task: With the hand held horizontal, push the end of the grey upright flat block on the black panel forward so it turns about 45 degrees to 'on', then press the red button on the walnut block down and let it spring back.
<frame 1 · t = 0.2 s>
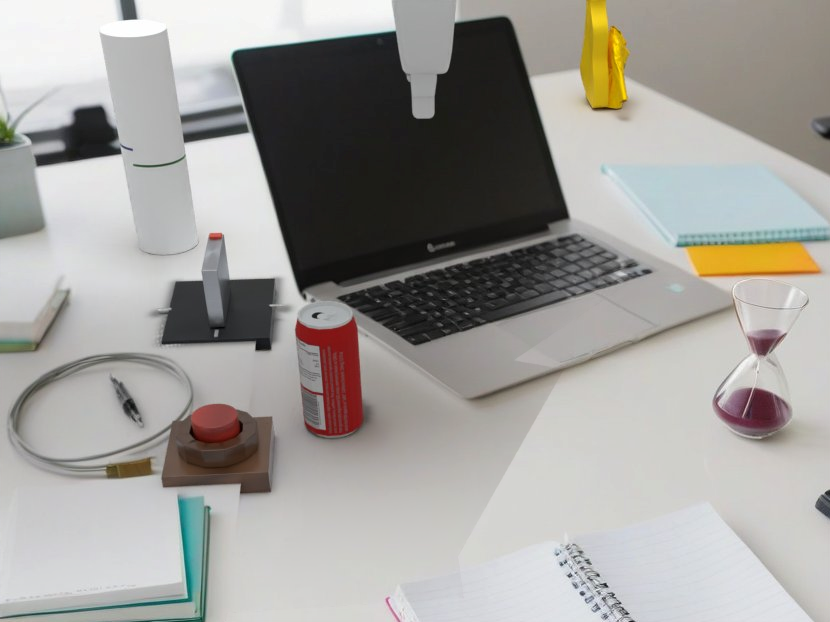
hand: (419, 97, 98), 29 cm above the table, tool pointing down, fingers open, 8 cm apart
cylindrical container: (168, 244, 141), on the table
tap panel: (222, 320, 126), on the table
start button: (215, 423, 101), point 4 cm above the table, slide at 0.1 cm
button block: (222, 465, 104), on the table
soda can: (334, 426, 110), on the table
figure statuette: (601, 105, 188), on the table
grey upright flat block: (216, 279, 123), point 5 cm above the table, hinge at 0.0°
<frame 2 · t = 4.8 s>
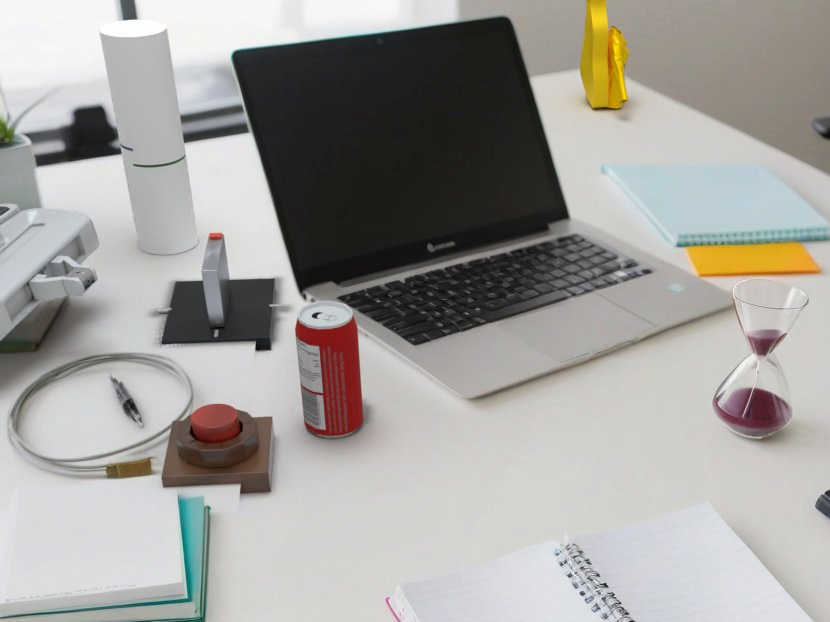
hand: (88, 281, 112), 9 cm above the table, tool horizontal, fingers closed
nothing on the table moved.
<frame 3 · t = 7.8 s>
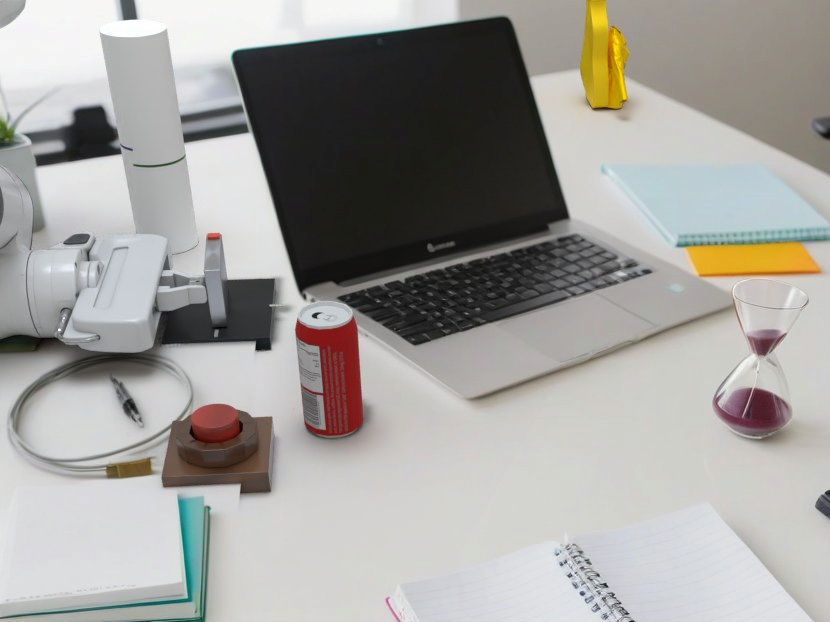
hand: (207, 288, 119), 6 cm above the table, tool horizontal, fingers closed, pressing on grey upright flat block
grey upright flat block: (216, 279, 123), point 5 cm above the table, hinge at 3.3°, touching gripper
everything else where it was.
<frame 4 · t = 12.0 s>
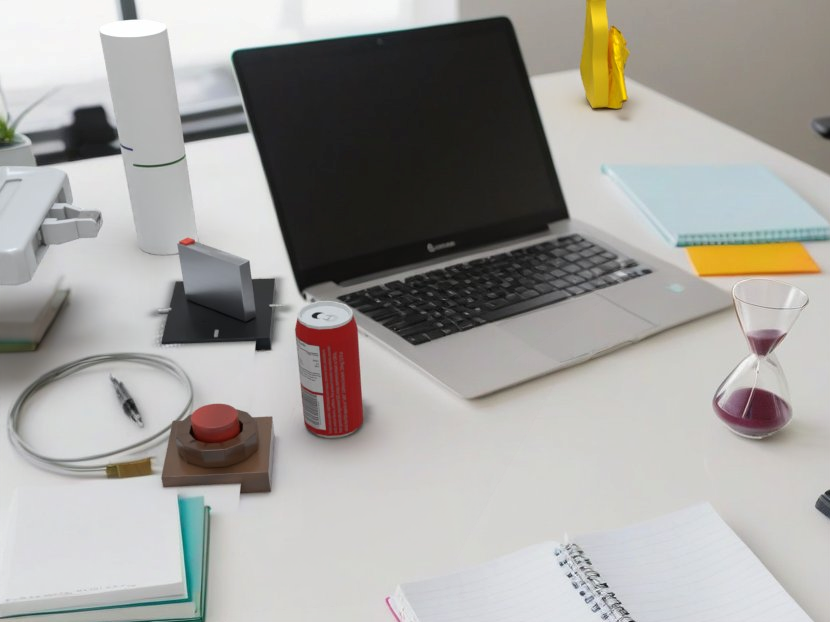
hand: (99, 223, 113), 13 cm above the table, tool horizontal, fingers closed
grey upright flat block: (216, 279, 123), point 5 cm above the table, hinge at 49.1°
everything else where it was.
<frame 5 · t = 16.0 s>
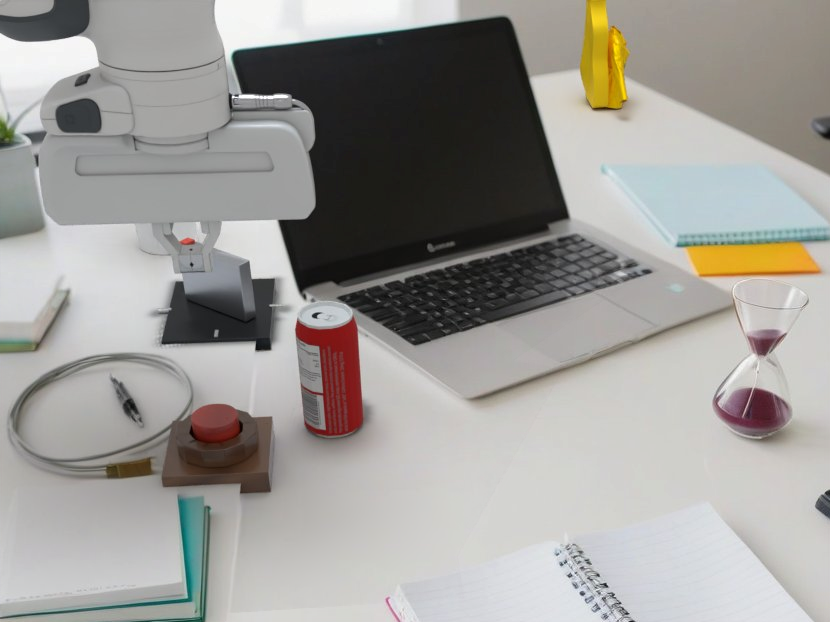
hand: (194, 270, 93), 19 cm above the table, tool pointing down, fingers closed
nothing on the table moved.
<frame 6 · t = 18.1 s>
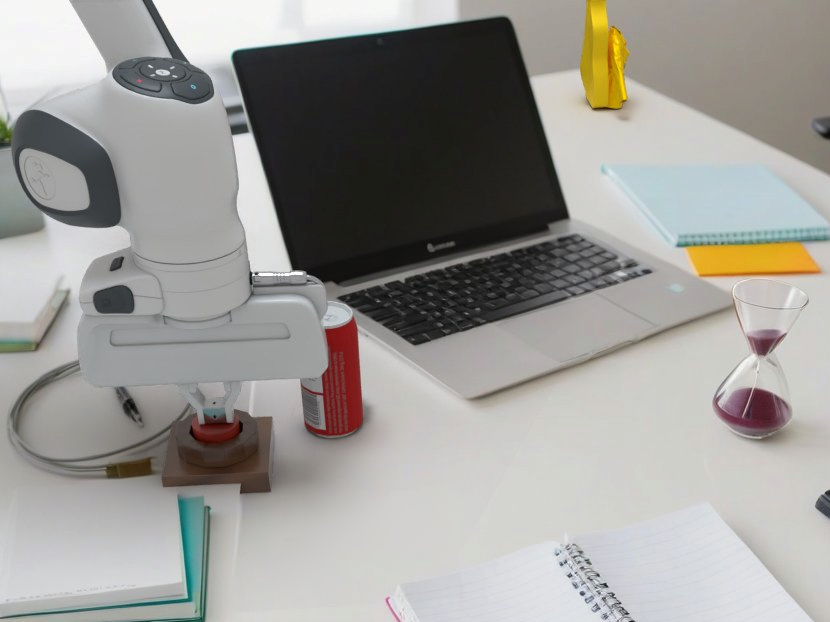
hand: (217, 420, 101), 5 cm above the table, tool pointing down, fingers closed, pressing on start button
start button: (216, 429, 101), point 4 cm above the table, slide at -0.5 cm, touching gripper
everything else where it was.
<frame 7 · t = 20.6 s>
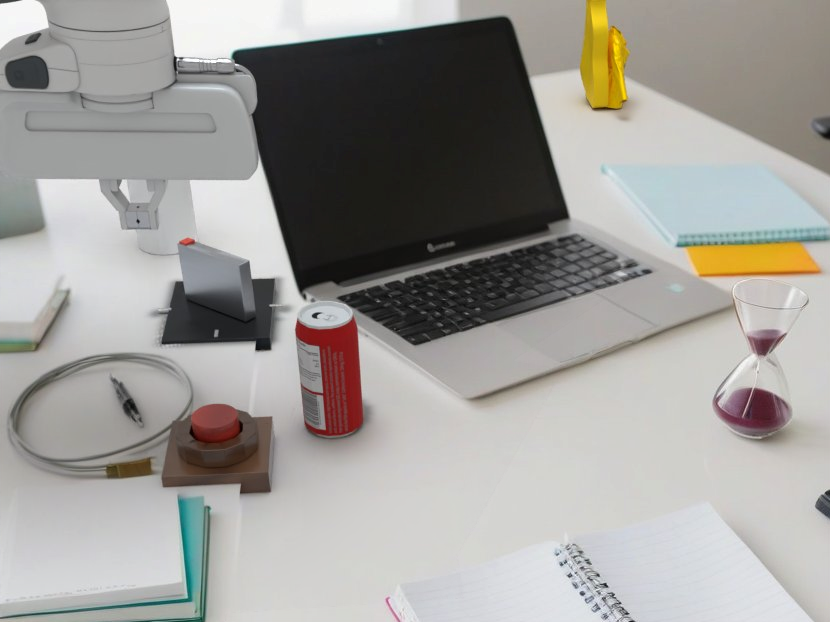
hand: (141, 227, 96), 20 cm above the table, tool pointing down, fingers closed
start button: (215, 423, 101), point 4 cm above the table, slide at 0.1 cm
everything else where it was.
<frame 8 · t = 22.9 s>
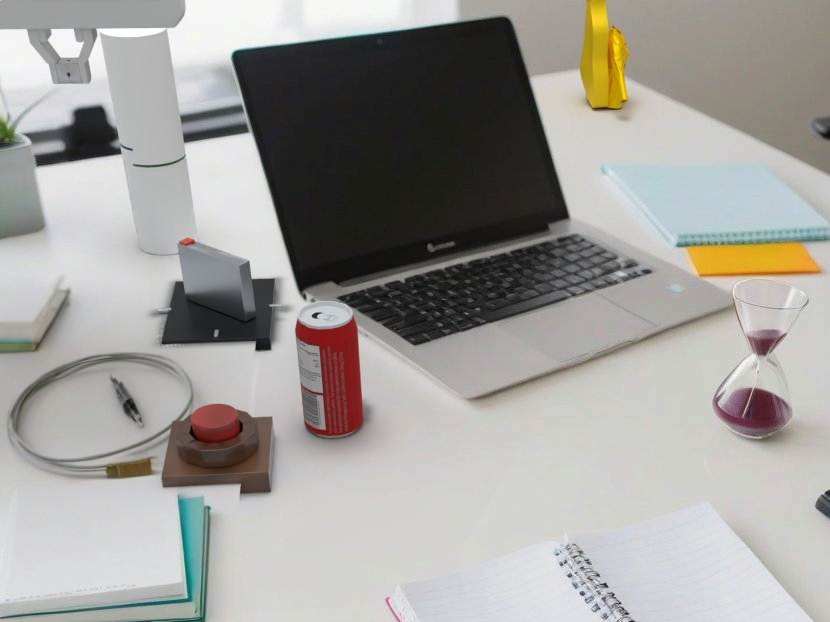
hand: (72, 82, 98), 29 cm above the table, tool pointing down, fingers closed
nothing on the table moved.
at the end: grey upright flat block at +49° (first picture: +0°); start button pushed in 1.0 cm at the most during the clip, back to where it started at the end; start button slide at 0.1 cm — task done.
